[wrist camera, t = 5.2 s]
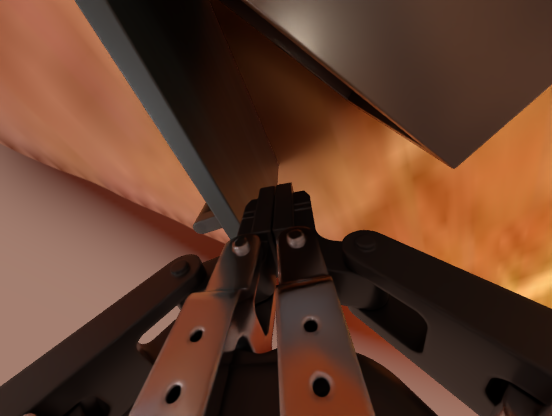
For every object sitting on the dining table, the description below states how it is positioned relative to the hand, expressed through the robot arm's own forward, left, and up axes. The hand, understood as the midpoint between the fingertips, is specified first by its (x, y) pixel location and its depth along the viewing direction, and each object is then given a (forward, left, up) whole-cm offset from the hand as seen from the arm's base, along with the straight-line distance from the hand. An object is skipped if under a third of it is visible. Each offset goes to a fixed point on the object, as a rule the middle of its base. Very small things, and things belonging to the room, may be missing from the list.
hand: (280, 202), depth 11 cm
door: (-6, -3, -18) cm, 19 cm away
